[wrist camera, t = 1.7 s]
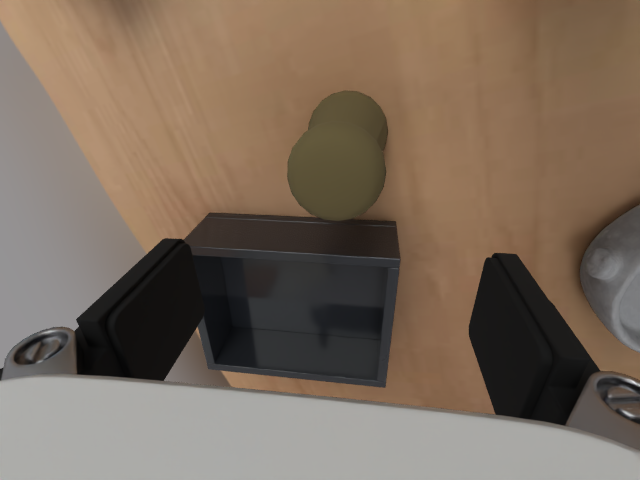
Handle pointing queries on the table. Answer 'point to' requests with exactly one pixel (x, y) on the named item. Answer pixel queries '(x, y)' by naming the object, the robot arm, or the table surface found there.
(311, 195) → the olive pawn
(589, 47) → the table surface
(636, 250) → the dish
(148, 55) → the table surface
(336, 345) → the open box
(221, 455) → the robot arm
